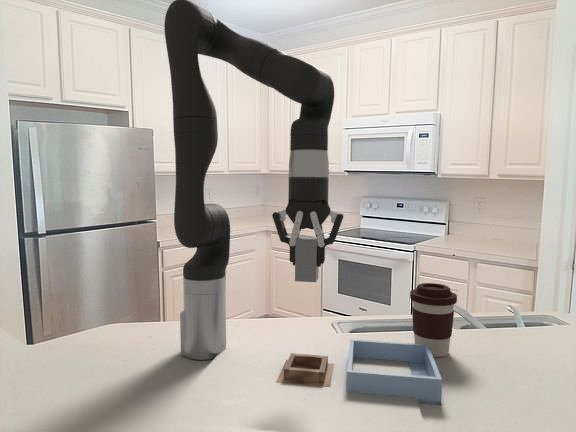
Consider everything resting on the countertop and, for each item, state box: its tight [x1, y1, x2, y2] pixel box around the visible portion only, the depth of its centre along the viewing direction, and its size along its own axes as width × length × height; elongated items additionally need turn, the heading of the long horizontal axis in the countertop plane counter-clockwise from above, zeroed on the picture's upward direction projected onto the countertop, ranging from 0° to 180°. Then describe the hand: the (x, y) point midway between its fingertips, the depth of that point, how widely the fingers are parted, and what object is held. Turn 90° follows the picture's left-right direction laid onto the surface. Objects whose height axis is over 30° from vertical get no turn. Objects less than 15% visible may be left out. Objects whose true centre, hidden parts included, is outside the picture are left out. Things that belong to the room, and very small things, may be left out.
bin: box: [346, 338, 443, 406], centre depth 80 cm, size 16×16×4 cm
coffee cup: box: [409, 282, 458, 358], centre depth 94 cm, size 10×10×15 cm
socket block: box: [275, 352, 335, 388], centre depth 81 cm, size 10×10×3 cm
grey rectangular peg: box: [294, 235, 320, 283], centre depth 80 cm, size 4×4×8 cm
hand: (307, 265), depth 80 cm, fingers closed on grey rectangular peg, 4 cm apart
